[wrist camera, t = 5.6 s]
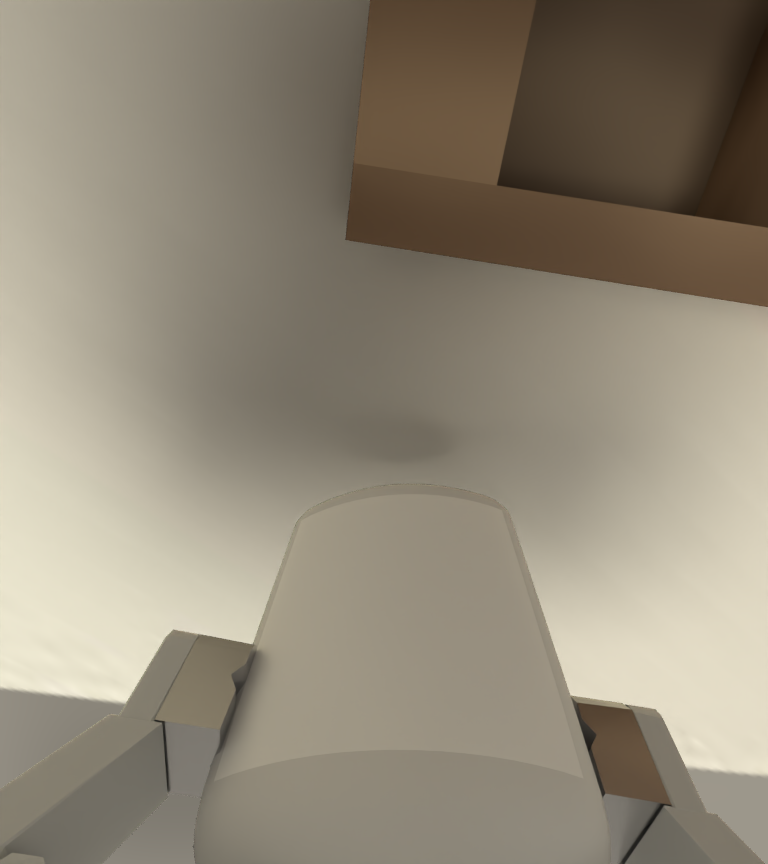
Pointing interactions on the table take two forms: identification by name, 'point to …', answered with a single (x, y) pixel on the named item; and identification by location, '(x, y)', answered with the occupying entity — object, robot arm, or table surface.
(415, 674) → the eye dropper bottle
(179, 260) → the table surface
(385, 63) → the walnut slot rail
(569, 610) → the table surface
